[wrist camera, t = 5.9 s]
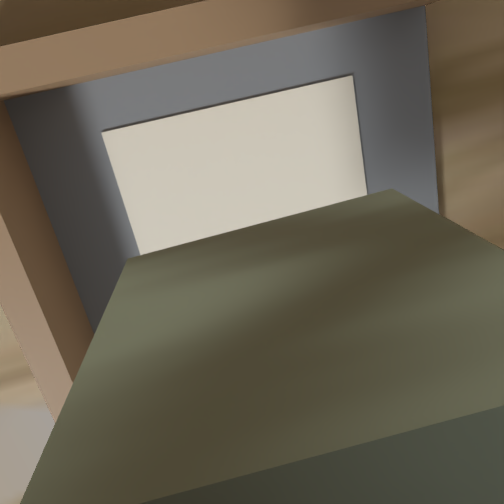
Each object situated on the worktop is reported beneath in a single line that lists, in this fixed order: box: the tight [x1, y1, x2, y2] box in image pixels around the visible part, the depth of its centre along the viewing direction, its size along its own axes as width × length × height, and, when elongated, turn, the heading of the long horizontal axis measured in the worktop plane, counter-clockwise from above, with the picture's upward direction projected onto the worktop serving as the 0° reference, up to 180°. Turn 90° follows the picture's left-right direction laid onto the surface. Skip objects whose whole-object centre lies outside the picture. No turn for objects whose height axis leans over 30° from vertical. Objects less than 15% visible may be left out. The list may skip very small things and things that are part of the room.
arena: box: [0, 0, 439, 423], centre depth 15 cm, size 14×14×4 cm
